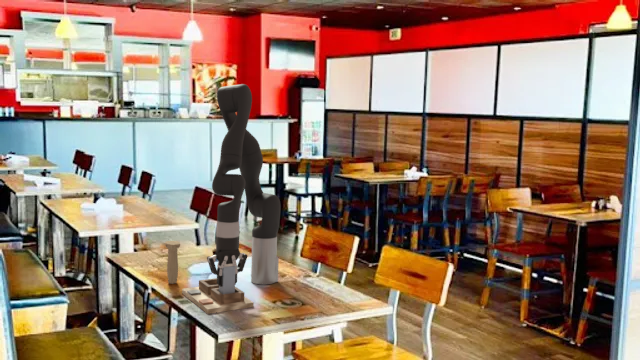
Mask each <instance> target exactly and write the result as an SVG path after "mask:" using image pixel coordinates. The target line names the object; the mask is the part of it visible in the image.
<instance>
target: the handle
mask: <svg viewBox="0 0 640 360" xmlns="http://www.w3.org/2000/svg"><path fill="white" fill-rule="evenodd" d="M164 244H165V248H166V249H167V264H166V269H167V270H166V274H167V283H168V284H170V285H171V284H172V285H174V284H177V282H178V276H179V260H178V259H179V258H178V249H179V248H181V242H180V241H177V240H166V241H165V243H164Z"/></svg>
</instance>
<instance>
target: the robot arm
mask: <svg viewBox="0 0 640 360" xmlns="http://www.w3.org/2000/svg"><path fill="white" fill-rule="evenodd" d="M216 100H217V101H216V102H217V105H218V108H219V111H220V114H221V116H222V119H223V121H224V123H225V126H226V129H227V132H226V133H225V136H224V138H223V140H222V142H221V147H220V156H219V157H220V158H219V164H218V167H217V171H216V172H215V175H214V176H213V179H212V184H211V188H212V191H213V193H214V194H215V195H217V196H230V197H231V196H233V199H232V200H229V201H224V202H221V203H219V204H218V205H217V220H216V221H217V222H216V232H215V233H216V235H215V236H216V238H215V240H216V241H215V253H214V255H212V256H209V255H208V256H207V257H206V259H207V262H208V266H209V269H210V272H211V273H212V274H213V275H216V278H217V284H218V285H219V286H220V287H222V286H223V276H222V274H223V269H224V267H225V265H226V264H231V263H232V264H233V266H235V286H236V284H237V283H238V274H239V273H240V272H242V273H243V270H244V268H245V265H246V261H247V259H248V254H246V253H244V252H241V251H240V233H241V231H240V206H241V202H242V199H243V194H244V193H245V198H246V199H245V200H246V204H247V207H248V211H249V213H250V214H251V215H252V216H254V217H255V218H261V224H260V225H259V226H255V227H253V229H252V231H251V266H250V267H251V270H250V271H251V273H250V274H251V275H250V281H251V283H253V284H256V285H272V284H275V283H277V282H279V260H280V259H279V256H277V255H278V253H277V251H278V250H277V249H278V245H277V244H278V232H279V229H280V221H281V220H280V219H281V210H282V209H281V207H282V205H281V201H280V200H281V199H280V198H279V197H278V196H277V195H276V194H271V193H268V192H267V193H266V192H263V189H262V187H261V182H260V175H261V171H262V168H263V164H264V157H263V154H262V151H261V146H260V144H259V141H258V140H257V138H256V137H255V136H254V135H253V133H251V132H250V131H249V130H248V129H247V127H248V122H249V118H250V114H251V111H252V110H251V109H252V105H253V104H252V103H253V95H252V91H251V89H250V87H249V85H247V84H245V83H241V84H233V85H225V86H221V87H219V88H218V89H217V91H216ZM238 169H239V172H240V173H239V174H237V173H236V174H235V173H228V172H230V171H234V170H238ZM238 259H239V260H238ZM216 260H217V267H216V264H215V263H216ZM237 260H238V262H237Z"/></svg>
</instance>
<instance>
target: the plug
mask: <svg viewBox="0 0 640 360" xmlns="http://www.w3.org/2000/svg"><path fill="white" fill-rule="evenodd" d="M222 276H223V286H222V287H220V286H219V292H220V293H221V294H229V293H235V287H236V285H235V266H233V264H232V263H231V264H226V265H225V267H224V269H223V274H222Z"/></svg>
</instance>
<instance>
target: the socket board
mask: <svg viewBox="0 0 640 360" xmlns="http://www.w3.org/2000/svg"><path fill="white" fill-rule="evenodd" d="M181 294H182V295H183V296H185V297H186V298H187V299H189V300H190V301H191V302H193V304H195V305H196V306H197V307H199V309H201V310H202V311H203V312H205V313H206V314H207V315H209V314H216V312H217V313H221V312H228V311H235V310H242V309H247V308H254V303H255V302H253V301H252V300H251V299H249V298H248V297H246V296H245V292H244V291H243V290H241V289H240V288H238V287H237V286H235V293H229V294H221V293H220V292H219V285H218V284H217V277H216V278H215V277H214V278H206V279H199V280H198V286H194V287H186V288H185V287H184V288H182V289H181Z"/></svg>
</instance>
